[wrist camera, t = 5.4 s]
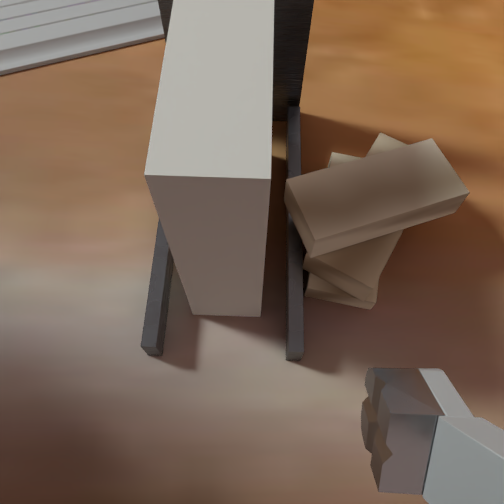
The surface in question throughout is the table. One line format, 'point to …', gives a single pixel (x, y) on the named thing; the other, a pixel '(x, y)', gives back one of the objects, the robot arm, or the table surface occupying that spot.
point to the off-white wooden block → (215, 150)
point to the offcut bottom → (325, 289)
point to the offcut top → (372, 196)
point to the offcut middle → (358, 250)
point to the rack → (286, 109)
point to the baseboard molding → (71, 29)
